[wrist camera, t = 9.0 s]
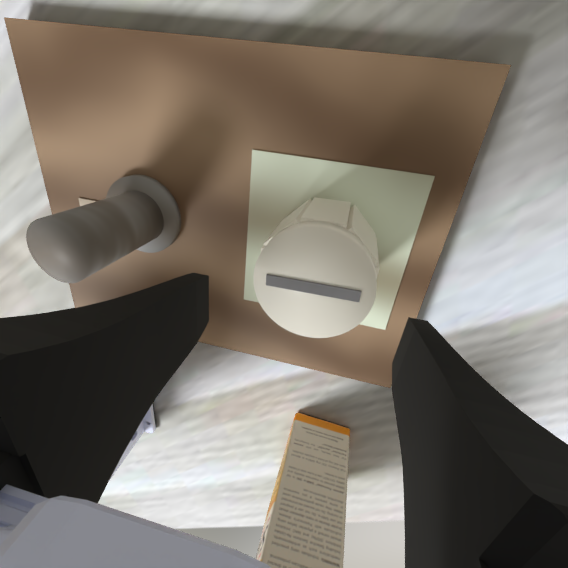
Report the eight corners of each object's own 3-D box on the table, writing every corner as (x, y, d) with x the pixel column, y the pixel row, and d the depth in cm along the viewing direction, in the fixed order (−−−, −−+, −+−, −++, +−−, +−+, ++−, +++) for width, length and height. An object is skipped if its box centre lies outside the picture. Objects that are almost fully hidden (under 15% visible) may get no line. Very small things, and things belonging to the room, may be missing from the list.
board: (389, 375, 22) (399, 484, 16) (87, 304, 26) (-10, 368, 19) (500, 69, 14) (627, 21, 7) (25, 23, 17) (-189, -38, 11)
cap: (383, 206, 16) (390, 239, 12) (363, 295, 19) (362, 349, 14) (283, 192, 17) (254, 218, 12) (276, 279, 19) (250, 326, 15)
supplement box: (293, 408, 26) (238, 633, 15) (352, 426, 25) (341, 674, 14) (277, 467, 30) (224, 679, 19) (327, 483, 29) (304, 712, 18)
